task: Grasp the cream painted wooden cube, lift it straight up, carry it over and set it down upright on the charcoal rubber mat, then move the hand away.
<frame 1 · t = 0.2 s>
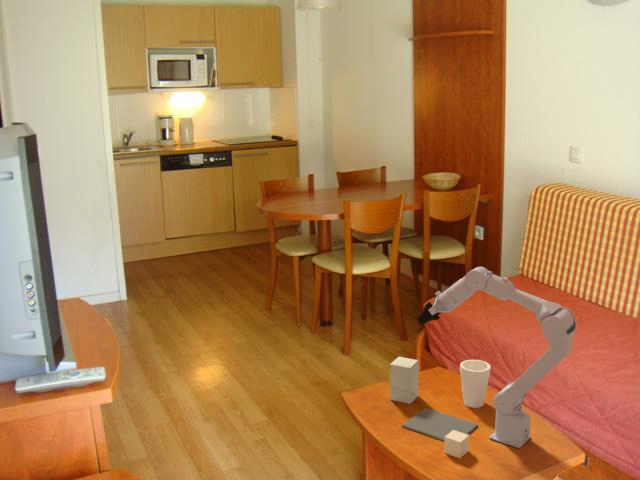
hand: (425, 317, 223), 31 cm above the table, tool tilted 45°, fingers open, 7 cm apart
cream cube: (456, 452, 207), on the table
supplement box: (404, 398, 240), on the table
charcoal mat: (439, 426, 221), on the table
foam cup: (473, 403, 236), on the table
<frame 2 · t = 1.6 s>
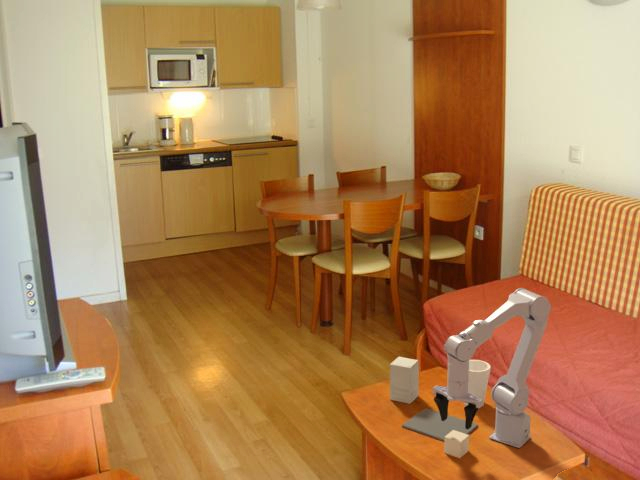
hand: (456, 423, 205), 9 cm above the table, tool pointing down, fingers open, 7 cm apart
nothing on the table moved.
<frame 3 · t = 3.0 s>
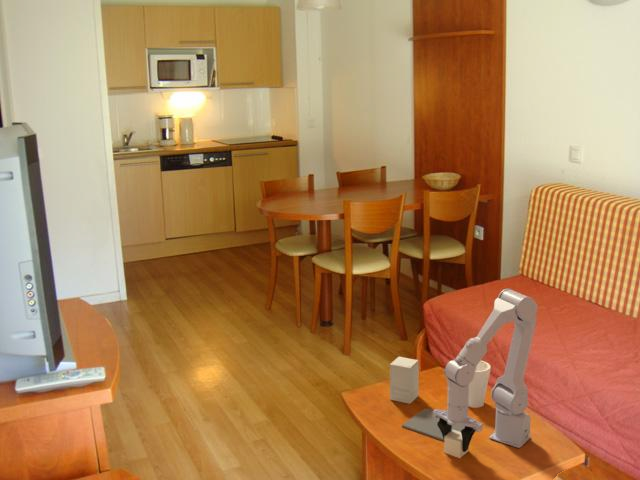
hand: (456, 447, 207), 1 cm above the table, tool pointing down, fingers closed on cream cube, 5 cm apart
cream cube: (456, 451, 207), on the table, touching gripper
everything else where it was.
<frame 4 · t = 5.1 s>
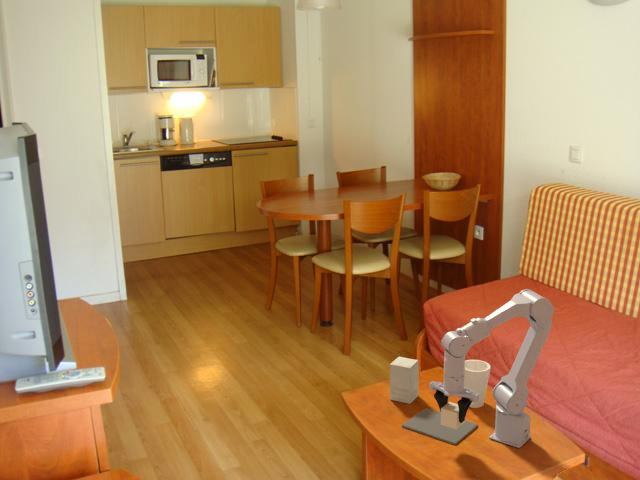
hand: (452, 418, 208), 8 cm above the table, tool pointing down, fingers closed on cream cube, 5 cm apart
cream cube: (452, 423, 209), point 7 cm above the table, touching gripper
everything else where it was.
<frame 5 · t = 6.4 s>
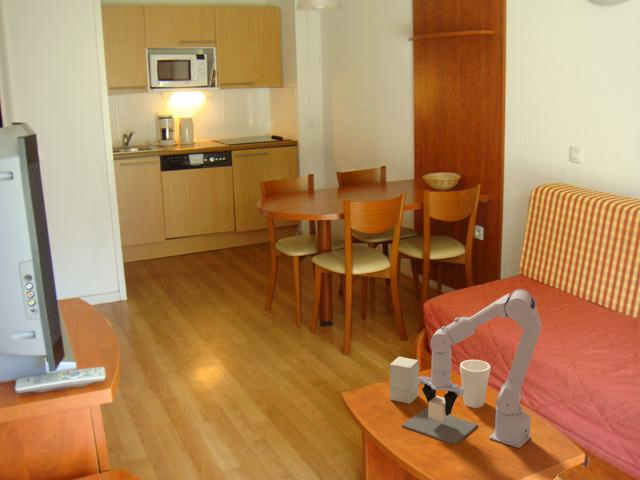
hand: (440, 411, 220), 5 cm above the table, tool pointing down, fingers closed on cream cube, 5 cm apart
cream cube: (439, 416, 220), point 3 cm above the table, touching gripper
everything else where it was.
when the fingers open (3 cm above the table, at t = 7.2 s): cream cube drops 1 cm, resting on charcoal mat.
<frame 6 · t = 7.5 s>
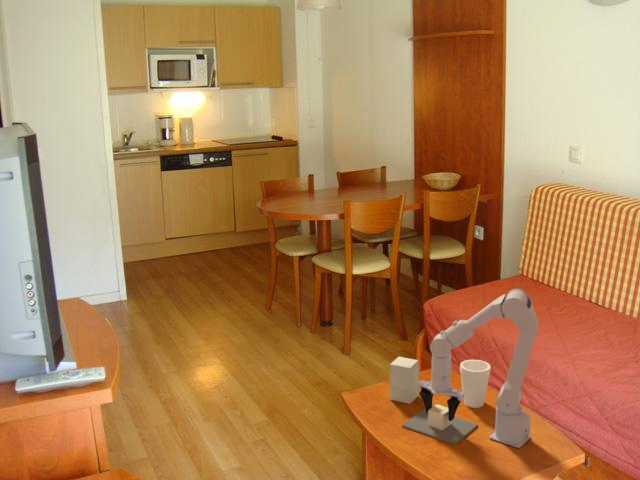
hand: (440, 415, 220), 4 cm above the table, tool pointing down, fingers open, 7 cm apart
cream cube: (439, 424, 221), point 1 cm above the table, touching charcoal mat
everything else where it was.
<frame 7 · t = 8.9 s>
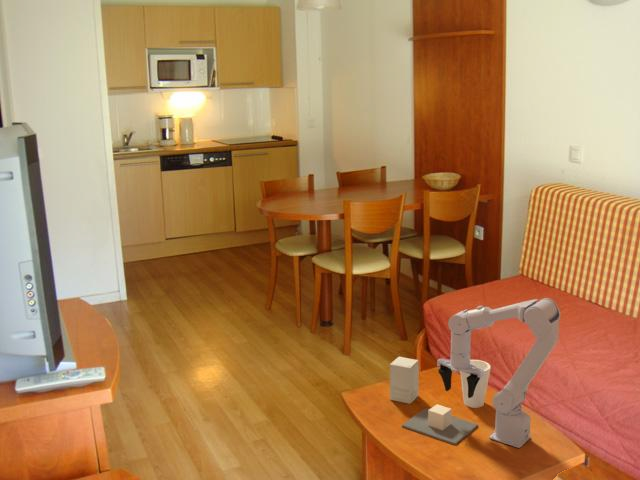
hand: (459, 393, 222), 9 cm above the table, tool pointing down, fingers open, 7 cm apart
nothing on the table moved.
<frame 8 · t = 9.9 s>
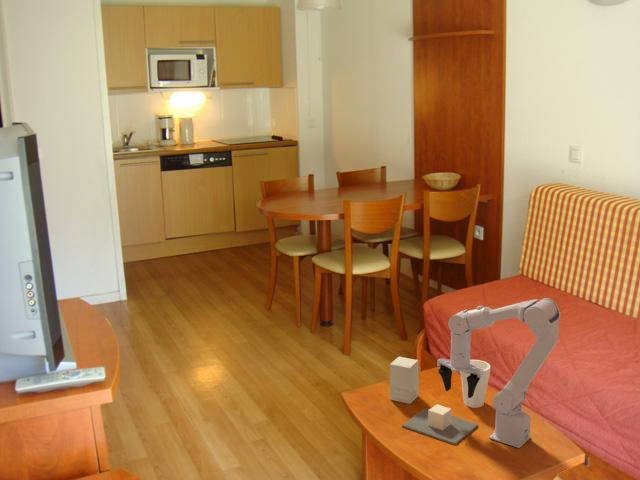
hand: (459, 393, 222), 9 cm above the table, tool pointing down, fingers open, 7 cm apart
nothing on the table moved.
at the end: cream cube inside the target area on the charcoal mat (0.1 cm from its centre), point 0.6 cm above the charcoal mat's base; cream cube tilted 0°; the gripper is holding nothing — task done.
